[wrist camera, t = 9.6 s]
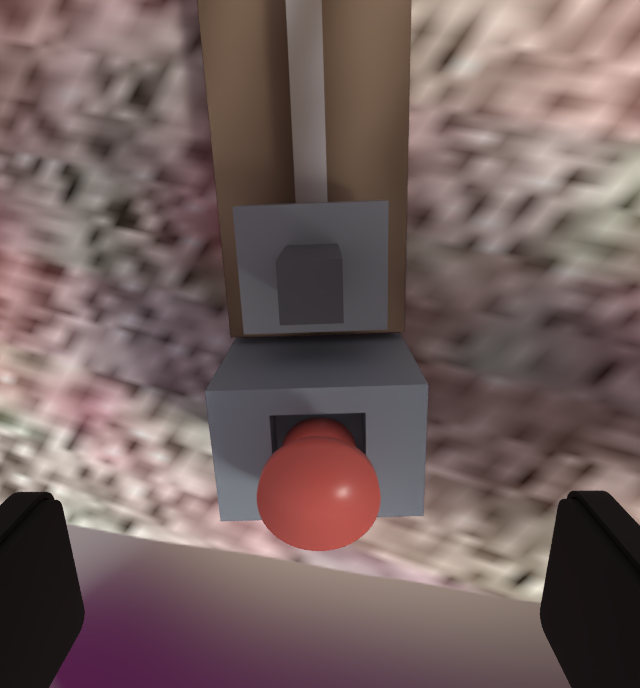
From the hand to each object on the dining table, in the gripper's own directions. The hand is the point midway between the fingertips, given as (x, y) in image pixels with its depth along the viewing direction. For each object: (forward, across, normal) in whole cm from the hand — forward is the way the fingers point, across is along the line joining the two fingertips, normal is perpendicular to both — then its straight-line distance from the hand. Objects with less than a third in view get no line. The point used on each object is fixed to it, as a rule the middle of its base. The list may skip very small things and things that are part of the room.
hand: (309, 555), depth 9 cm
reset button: (+13, 0, +5) cm, 14 cm away
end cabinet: (+20, 0, +5) cm, 21 cm away
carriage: (+18, 0, -3) cm, 18 cm away
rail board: (+20, 0, -11) cm, 23 cm away
